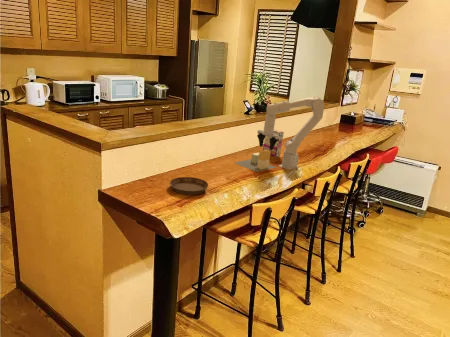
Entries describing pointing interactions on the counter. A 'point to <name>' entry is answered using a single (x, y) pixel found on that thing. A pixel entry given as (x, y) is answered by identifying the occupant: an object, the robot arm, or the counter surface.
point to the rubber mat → (252, 165)
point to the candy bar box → (277, 146)
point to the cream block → (263, 164)
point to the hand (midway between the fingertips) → (266, 148)
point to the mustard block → (264, 155)
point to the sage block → (255, 158)
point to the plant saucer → (189, 185)
